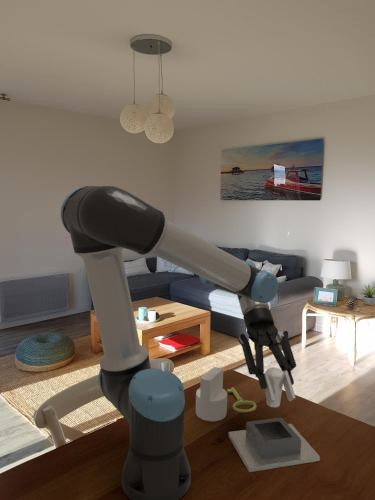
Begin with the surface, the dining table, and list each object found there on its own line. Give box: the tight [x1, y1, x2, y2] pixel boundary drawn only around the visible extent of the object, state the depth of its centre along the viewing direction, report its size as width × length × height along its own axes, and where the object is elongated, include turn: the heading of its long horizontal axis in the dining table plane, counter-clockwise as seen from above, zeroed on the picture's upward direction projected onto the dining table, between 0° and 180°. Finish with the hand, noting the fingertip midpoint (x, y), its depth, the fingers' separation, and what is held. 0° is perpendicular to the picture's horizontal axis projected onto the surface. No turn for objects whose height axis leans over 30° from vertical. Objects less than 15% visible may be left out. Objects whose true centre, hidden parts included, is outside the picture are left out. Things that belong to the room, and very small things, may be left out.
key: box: [226, 387, 257, 413], centre depth 121 cm, size 7×12×2 cm, turn 34°
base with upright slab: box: [195, 366, 228, 422], centre depth 115 cm, size 9×9×12 cm
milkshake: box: [265, 367, 286, 409], centre depth 97 cm, size 4×5×10 cm
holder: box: [228, 417, 321, 473], centre depth 99 cm, size 18×14×5 cm
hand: (281, 400), depth 94 cm, fingers closed on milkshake, 4 cm apart
